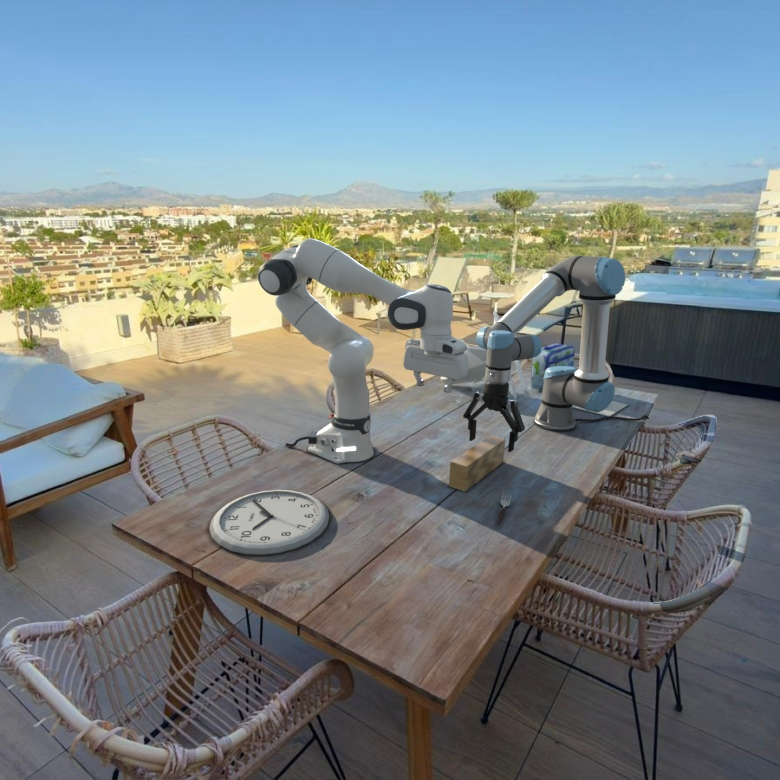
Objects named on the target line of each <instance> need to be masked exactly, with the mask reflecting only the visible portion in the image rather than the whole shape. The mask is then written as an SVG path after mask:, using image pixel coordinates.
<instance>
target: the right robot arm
mask: <svg viewBox="0 0 780 780" xmlns="http://www.w3.org/2000/svg"><path fill="white" fill-rule="evenodd" d="M540 278H541V279H540V281H539V282H538V283H537V284H536V285H535V286H534V287H533V288H532V289H531V290H530V291H528V293H527V294H525V295H524V296H523V297H522V298H521V299H520V300H519V301H518V302H517V303H515V305H514V306H513V307H511V308H510V309H509V310H508V311H507V312H506V313H505V314H504V315H503V316H502V317H501V318H500V320H499V321H498V322H497V323H496V322H495V323H494V324H493V325H492V326H483V327H481V328H479V330H478V331H477V333H476V336H475V341H476V344H477V346H479V347H481V348H483V349H485V350H487V360H486V372H485V377H484V379H485V381H483V382H484V383H483V393H482V392H481V391H477V392H475V393H474V394H473V399H472V400H471V402H470V404H469V405H468V407H467V408H466V410H465V412H464V413H463V415H462V416H463V418H464V419H466V420H467V422H468V423H467V430H468V431H469V437H468V439H469V440H468V441H469V442H473V441H474V440H475V439H476V434H477V424H478V423H477V422H478V421H477V419H476V418H477V417H478V416H479V415H481V413H483V412H484V411H485V410H486V409H488V410H490V411H494V412H497V413H498V412H499V413H500V415H502V417H503V418H504V420H505V422H506V423H507V425H508V426H509V428H510V430H511V431H510V432H509V438H508V447H507V452H508V453H511V452H513V451H514V450H515V443H516V442H518V440H519V433H522V432H524V431H525V430H526V428H525V427H526V426H525V424H524V421H523V417H522V416H521V415H522V414H521V412H520V410H519V406H518V404H519V403H518V399H517V398H516V399H515V398H514V399H509V392H510V390H509V383H508V382H509V381H510V375H511V369H512V362H514V361H516V360H519V361H523V360H531V359H533V358H534V357H537V356H538V355H539V354H540V352H541V349H542V348H543V343H542V341H541V338H540V337H539V336H538V335H536V334H530V333H527V334H520V333H519V332H521V331H522V330H523V329H524V328H525V327H526V326H527V325H528V324H529V323H530V322H531V321H533V319H535V317H537V315H538V314H540V313H541V312H542V311H543V310H544V309H545V308H546V307H547V306H548V305H549V304H550V303H551V302H552V301H553V300H554V299H556V297H561V296H563V295H564V294H565V293H566V292H569V291H578V299H579V300H580V301H581V302H582V313H581V314H582V315H581V316H582V317H581V329H580V330H581V332H580V334H581V335H580V347H579V362H578V368H577V367H575V366H573V367H570V366H555V367H549V368H547V369H546V370H545V375H544V378H543V379H544V380H543V390H541V391H542V392H541V402H540V405H539V407H538V410H537V411H536V413H535V417H534V424H535V425H536V426H537V427H539V428H542V429H544V430H549V431H556V432H567V431H572V430H574V429H575V428H576V422H588V423H589V422H591V423H593V422H599V421H603V420H622V421H630V422H632V421H633V422H639V421H641V420H644V419H647V420H650V417H649V416H648V415H642V416H641V417H637V418H632V417H631V418H630V417H623V416H613V415H611V416H609V417H608V416H602V417H599V418H592V419H589V418H575V417H576V416H575V413H574V407H576V406H577V407H580V408H583V409H586V410H587V411H586V412H588V411H593V412H601V411H603V410H605V409H606V408H607V407H608V406H609V404H610V403H611V401H613V399H614V397H615V392H616V387H615V385H614V384H613V383H612V382H611V381H609V378H610V375H609V373H608V371H606V359H607V358H606V357H607V347H608V346H607V345H608V335H609V334H608V333H609V320H610V311H611V303H612V302H613V301H615V300H616V298H617V297H616V295H618V294H620V293H621V292H622V291H623V287H624V286H625V282H626V271H625V268H624V266H623V264H622V263H621V261H620V260H618V259H616V258H611V257H607V256H588V255H587V256H586V255H573V256H571V257H567V258H565V259H563V260H561V261H559V262H558V263H556V264H555V265H554V266H552V267H550V268H549V269H548V270H547V271H546V272H545V273H544V274H543V275H542V276H541V277H540ZM480 400H482V401H483V404H481V405H480V407H479V408H477V409H476V406H477V405H478V403H479V402H480ZM507 405H508V406H509V407H508V406H507ZM573 406H574V407H573ZM509 408H510V409H509ZM475 409H476V410H475ZM474 410H475V412H473V411H474Z"/></svg>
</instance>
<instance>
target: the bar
mask: <svg viewBox="0 0 780 780" xmlns="http://www.w3.org/2000/svg"><path fill="white" fill-rule="evenodd" d="M505 443H506V438H502V437H498V436H494V435H489V436H487V437H486V438H484V439H482V440H481V441H480V442H478V443H477V444H475V445H474V446H472V447H471V448H469V449H467V450H466V451H464V452H462V453H461V454H460V455H458V456H457V457H455V458H454V459H452V460H451V461H450V463H449V479H448V487H449V488H453V489H456V490H458V491H460V492H461V491H462V492H464V493H465V492H467V491H468V490H469V489H470V488H471V487H473V486H474V485H475V484H477V483H478V482H479V481H481V480H482V479H483V478H484V477H486V476H487V475H488V474H490V473H491V472H493V470H495V469H496V468H497V467H499V466H500V465H502V463H504V457H505V447H506V446H505Z"/></svg>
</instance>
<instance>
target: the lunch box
mask: <svg viewBox="0 0 780 780" xmlns="http://www.w3.org/2000/svg"><path fill="white" fill-rule="evenodd" d="M575 352H576V351H575V346H573V345H568V344H562V343H553V344H550V345H547V346H546V345H545V346H544V347H543V346H542V349H541V352H540V354H539V355H538V356H537V357H534V358H532V362H531V371H530V372H531V374H530V387H531V389H533V390H539V391H543V380H544V379H543V378H544V375H545V370H546V369H547V368H549V367H555V366H570V367H574V363H575Z"/></svg>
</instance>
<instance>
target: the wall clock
mask: <svg viewBox="0 0 780 780" xmlns="http://www.w3.org/2000/svg"><path fill="white" fill-rule="evenodd" d="M329 521H330V514H329V509H328V507H327V506H326V505H325V504H324V503H323V502H322V501H321V500H320V499H318V498H317V497H315V496H313V495H310V494H308V493H304V492H301V491H295V490H291V489H290V490H288V489H272V490H270V489H269V490H262V491H258V492H252V493H249V494H246V495H244V496H240V497H238V498H235V499H234V500H231V501H230V502H229V503H226V504H225V505H224V506H223V507H222V508H221V509H219V510H218V511H216V513H215V514H214V516H213V517H212V518H211V521H210V524H209V533H210V536H211V539H212V540H213V541H214V542H215V543H216V544H217V545H218V546H219V547H222V548H224V549H226V550H228V551H230V552H234V553H237V554H243V555H254V556H266V555H274V554H275V555H276V554H281V553H285V552H289V551H292V550H296V549H298V548H301V547H304V546H305V545H307V544H309V543H311V542H313V541H314V540H316V539H317V538H318V537H319V536H321V535H322V534H323V532H324V531H325V530H326V529H327V527H328V525H329Z"/></svg>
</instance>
